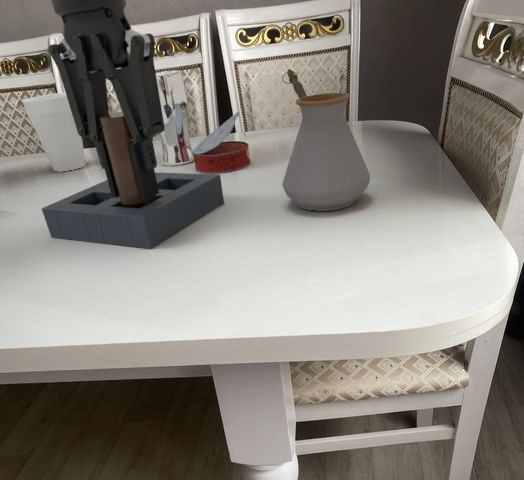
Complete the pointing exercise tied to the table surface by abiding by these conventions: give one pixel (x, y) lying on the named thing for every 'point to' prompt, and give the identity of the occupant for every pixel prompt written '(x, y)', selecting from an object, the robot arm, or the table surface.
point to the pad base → (135, 211)
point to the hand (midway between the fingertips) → (135, 194)
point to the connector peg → (121, 157)
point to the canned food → (221, 151)
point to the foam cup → (56, 130)
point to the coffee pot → (324, 154)
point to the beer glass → (174, 118)
